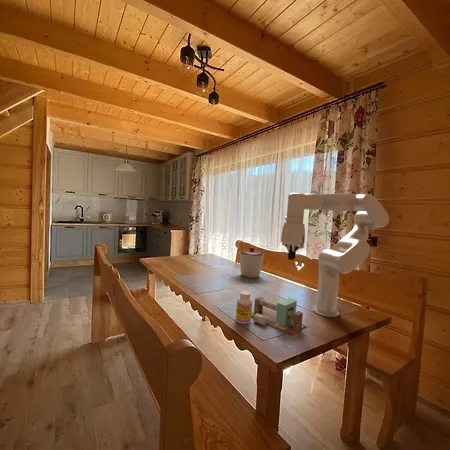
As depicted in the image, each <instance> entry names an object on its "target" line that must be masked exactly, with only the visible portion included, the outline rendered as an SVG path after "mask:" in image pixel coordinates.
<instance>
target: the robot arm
mask: <svg viewBox="0 0 450 450" xmlns="http://www.w3.org/2000/svg"><path fill="white" fill-rule="evenodd" d="M305 210H307V211H317V210H319V211H320V210H322V211H331V212H355V214H354V216H353V227H352V230H350V231H349V232H348V233H347V234H346V235H344V236H343V237H341V238H340V239H339V240H338V241H337V242H336V244H335V249H331V248H325V249H323V250H321V251H320V253H319V255H318V258H317V259H318V260H317V261H318V280H317V289H316V302H315V305H313V306H312V311H313V312H314V313H315V314H317V315H320V316H323V317H328V318H337V317H339V316H340V311H339V310H338V309H337V305H338V304H339V303H338V295H339V284H340V274H343V275H346V274H350V273H351V272H352V271H353V270H355V269H356V268H357V267H359V266H360V265H361V264H362V263H363V262H364V261H365V260H366V259H367V258H368V257H369V255H370V253H371V246H370V244H369V242H367V241H368V239H369V228H376V229H382V228H384V227H387V225H388V224H389V222H390V216H389V213H388V211H386V209H385V208H384V206H383V205H382V203H381V202H380V201H379V200H378V199H377V197H375V196H374V195H372V194H370V193H337V192H336V193H335V192H334V193H319V194H317V193H301V192H290V193H289V194H288V198H287V207H286V216H284V218H283V219H284V220H285V222H284V223H283V226H282V231H281V236H280V242H281V245H282V246H284V247H285V248H286V249H287V251H288V252H287V259H288V260H290V261H293V260H295V259H296V256H297V255H296V254H297V251H298V250H299V249H300V250H301V249H304V248H305V246H304V245H305V242H306V241H305V240H306V228H305V223H304V219H305V217H304V216H305Z"/></svg>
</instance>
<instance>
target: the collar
mask: <svg viewBox="0 0 450 450" xmlns="http://www.w3.org/2000/svg"><path fill="white" fill-rule="evenodd" d="M276 304H277V311H276V313H277V314H276V323H277V324H279V325H282V326H286V325H287V324H289V323H291V322H293V318H292V317H288V316H287V313H288V309H291V310H293V311H295V312H297V304H298V303H297V300H296V299H293V298H290V297H288V298H286V299H283V300H280V301H277V303H276Z"/></svg>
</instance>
